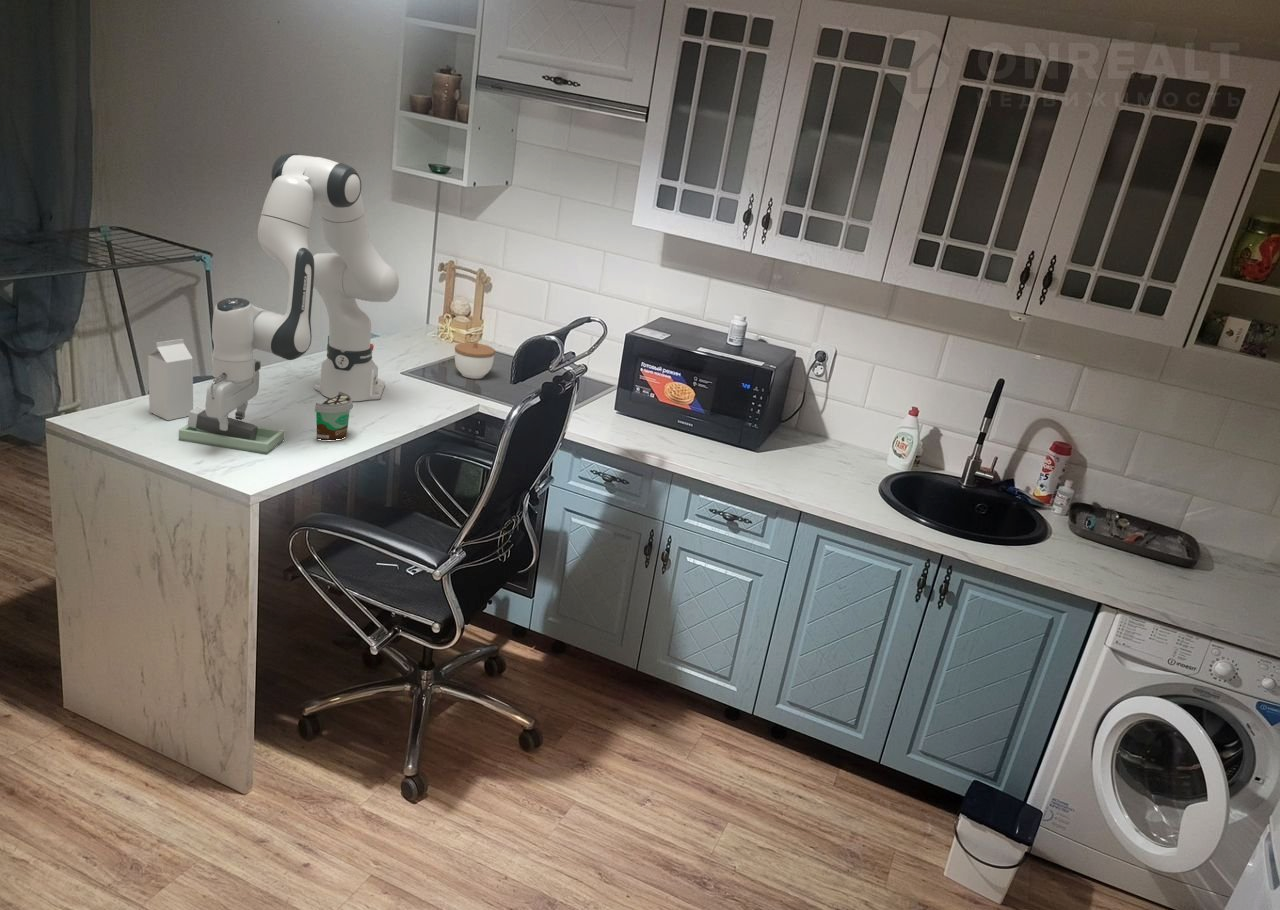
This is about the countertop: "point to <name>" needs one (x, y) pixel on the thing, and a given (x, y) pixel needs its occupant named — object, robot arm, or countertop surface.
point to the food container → (333, 417)
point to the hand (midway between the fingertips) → (232, 424)
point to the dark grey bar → (212, 425)
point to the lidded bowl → (473, 359)
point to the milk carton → (170, 380)
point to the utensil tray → (235, 439)
